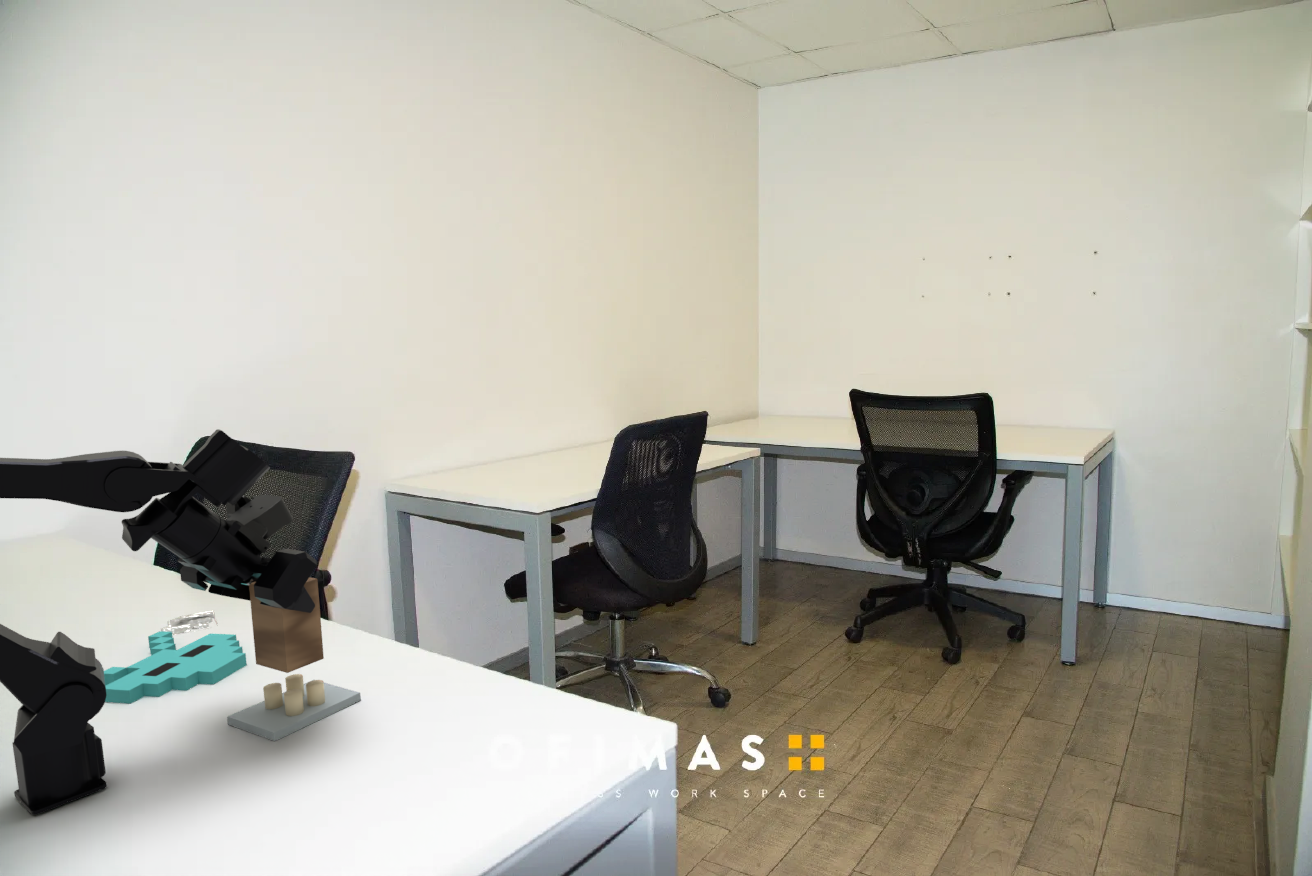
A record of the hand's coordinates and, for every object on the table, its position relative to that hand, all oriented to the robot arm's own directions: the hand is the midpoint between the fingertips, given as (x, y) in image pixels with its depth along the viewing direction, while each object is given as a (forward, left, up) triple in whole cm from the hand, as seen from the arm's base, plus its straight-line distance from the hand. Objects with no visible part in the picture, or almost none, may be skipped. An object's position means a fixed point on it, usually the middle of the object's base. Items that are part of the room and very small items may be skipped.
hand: (295, 605), depth 104 cm
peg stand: (-1, 0, -13) cm, 13 cm away
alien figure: (-5, +28, -14) cm, 31 cm away
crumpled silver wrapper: (+5, +46, -14) cm, 48 cm away
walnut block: (-1, 0, -7) cm, 7 cm away
